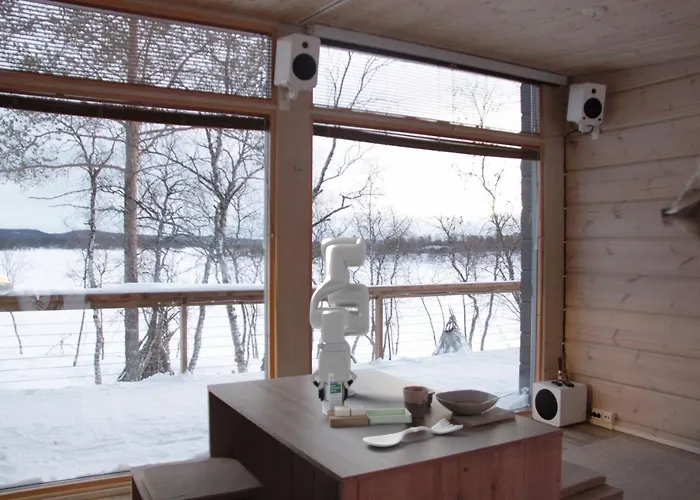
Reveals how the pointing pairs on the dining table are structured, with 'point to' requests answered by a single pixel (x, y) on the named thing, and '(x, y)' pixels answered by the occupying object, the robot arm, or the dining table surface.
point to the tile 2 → (357, 410)
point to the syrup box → (332, 394)
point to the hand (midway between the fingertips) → (333, 399)
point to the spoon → (397, 437)
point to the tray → (388, 416)
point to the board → (346, 420)
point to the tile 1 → (342, 411)
